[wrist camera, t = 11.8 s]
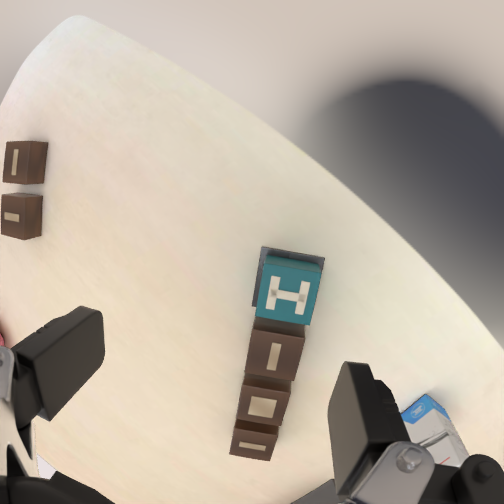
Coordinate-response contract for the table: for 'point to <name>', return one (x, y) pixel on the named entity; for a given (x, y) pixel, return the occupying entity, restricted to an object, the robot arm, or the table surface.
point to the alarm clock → (323, 495)
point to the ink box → (434, 432)
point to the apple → (1, 341)
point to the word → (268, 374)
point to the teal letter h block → (288, 290)
